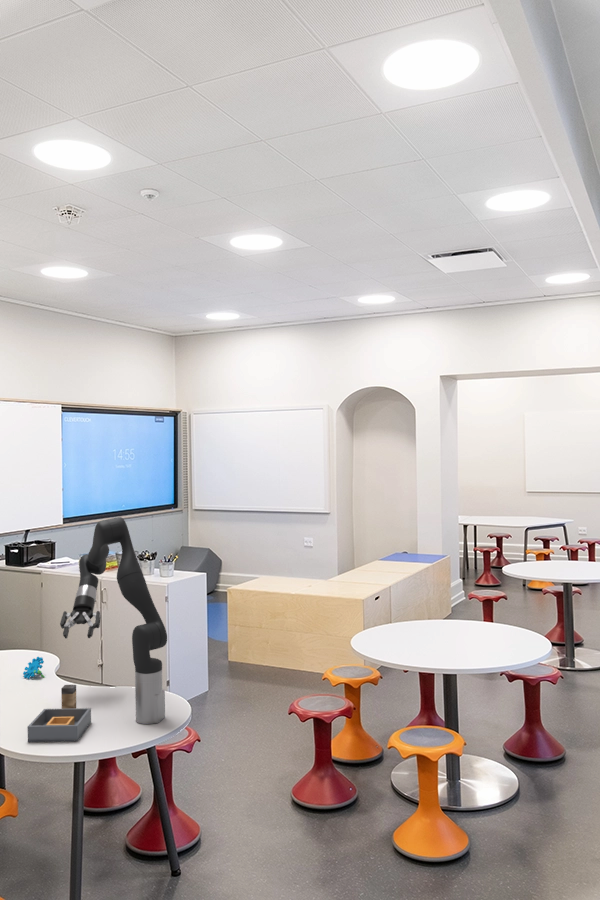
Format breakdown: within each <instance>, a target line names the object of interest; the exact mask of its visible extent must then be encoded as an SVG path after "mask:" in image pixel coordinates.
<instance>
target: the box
mask: <svg viewBox="0 0 600 900" xmlns="http://www.w3.org/2000/svg"><path fill="white" fill-rule="evenodd" d="M91 724H92V708H91V707H88V708H87V707H86V708H85V707H83V708H78V707H76V708H69V709H62V708H43V710H42V711H40V713H39V714H38V715H37V716H36V717H35V718H34V719H33V720H32V721H31V722H30V723H29V724H28V725H27V743H48V742H49V743H53V742H54V743H55V742H56V743H58V742H60V743H61V742H62V743H63V742H68V743H69V742H70V743H71V742H79V740H80V738H81V737H82V736H83V734H85V732H86V731H87V729H88V728H89V726H90V725H91Z"/></svg>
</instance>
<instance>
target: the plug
mask: <svg viewBox="0 0 600 900" xmlns="http://www.w3.org/2000/svg"><path fill="white" fill-rule="evenodd" d="M60 692H61V709H69V708H77V684H64V685H63V686H62V687H61V691H60Z"/></svg>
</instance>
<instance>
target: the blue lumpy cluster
mask: <svg viewBox="0 0 600 900" xmlns="http://www.w3.org/2000/svg"><path fill="white" fill-rule="evenodd" d="M44 663H45V661H44V658H43V657H42V656H41V657H40V656H37V657H36V658H34V657H33V658H32V660H31V661H28V663H27V665H28V666H25V667H24V670H25V671H23V672H22V675H23V678H24V679H28V680H29V679H31V678H34V677H35V676H36V675H37V676H39V677H40V676H41V678H43V679H44V678H46V676H45V675H44V674H43V672H42V670H40V669H42V668H43V664H44Z"/></svg>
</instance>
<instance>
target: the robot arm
mask: <svg viewBox="0 0 600 900" xmlns="http://www.w3.org/2000/svg"><path fill="white" fill-rule="evenodd" d="M113 544H120V546H121V558H120V562H119V564H118V567H117V572H116V580H117V581H116V582H117V584H118V587H119V589H120V592H121V595H122V596H123V598H125V600H126V601H127V602H128V603H129V604H130V605H132V606H133V607H134V608H135V610H137V611H138V612H139V613H140V615H141V616H142V618H143V619H144V622H145V623H143V624H139V625H136V626H135V627H134V628H133V630H132V633H131V634H132V635H131V643H132V645H131V646H132V659H133V664H134V671H135V672H134V675H135V677H134V684H135V686H134V688H135V690H134V693H135V698H134V699H135V721H136V722H137V724H138V723H139V724H144V725H149V724H150V725H151V724H159V723H160V722H161V721H162V720H164V718H166V691H165V690H164V689H163V662H162V660H161V659H160V658H156V657H151V653H150V651H155V650H158V649H162V648H163V647H165V646H166V645H167V642H168V634H167V629H166V626H165V624H164V622H163V620H162V618H161V616H160V614H159V612H158V610H157V608H156V606H155V603H154V601H153V598H152V596H151V593H150V590H149V587H148V585H147V584H148V583H147V581H146V578H145V576H144V573H143V570H142V569H141V565H140V563H139V561H138V558H137V556H136V552H135V549H134V546H133V541H132V538H131V535H130V530H129V528H128V525H127V523H126V520H125V519H124V518H123V517H122V516H119V517H117V516H116V517H112V518H108V519H103V520H100V521H98V522H97V523H96V524H95V527H94V531H93V538H92V545H91V548H90V550H89V552H88V553H86V554H83V555H82V556H81V557H80V559H79V562H78V569H79V576H80V577H79V584H78V588H77V590H76V594H75V598H74V601H73V607H72V610H71V612H67V611H65V610H64V611H63V613H62V615H61V619H60V623H59V625H60V627H61V629H63V632H62V636H63V638H64V639H68V637H69V632H70V629H71V628H72V627H74V626H75V625H80V624H81V625H86V624H87V625H88V626H89V627H88V630H87V639H91V637H93V635H94V630H95V629H99V628H100V627H101V618H102V615H101V611H100V610H97V611H96V612H94V609H95V604H96V603H95V602H96V600H97V592H98V591H97V590H98V585H99V578H98V577H97V576H96V575H98V576H100V575H102V574H104V573H105V571H106V568H107V558H108V557H109V553H110V547H109V545H113ZM93 618H94V619H95V622H94V623H93V622H92V620H91V619H93ZM67 620H68V621H67Z"/></svg>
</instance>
